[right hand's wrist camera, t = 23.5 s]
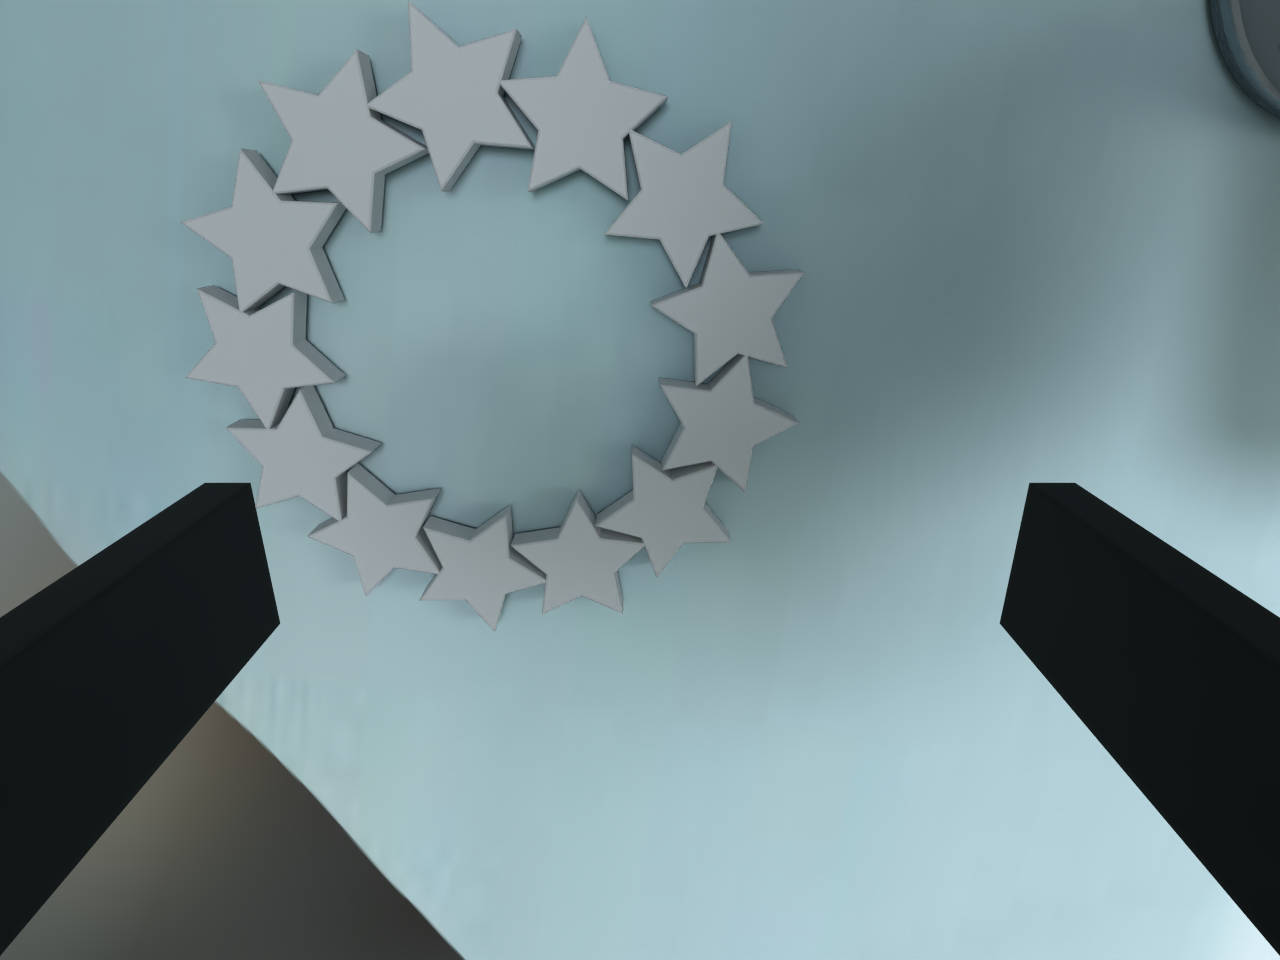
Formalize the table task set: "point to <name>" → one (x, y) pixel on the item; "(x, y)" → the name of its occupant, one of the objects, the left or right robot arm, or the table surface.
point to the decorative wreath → (453, 130)
